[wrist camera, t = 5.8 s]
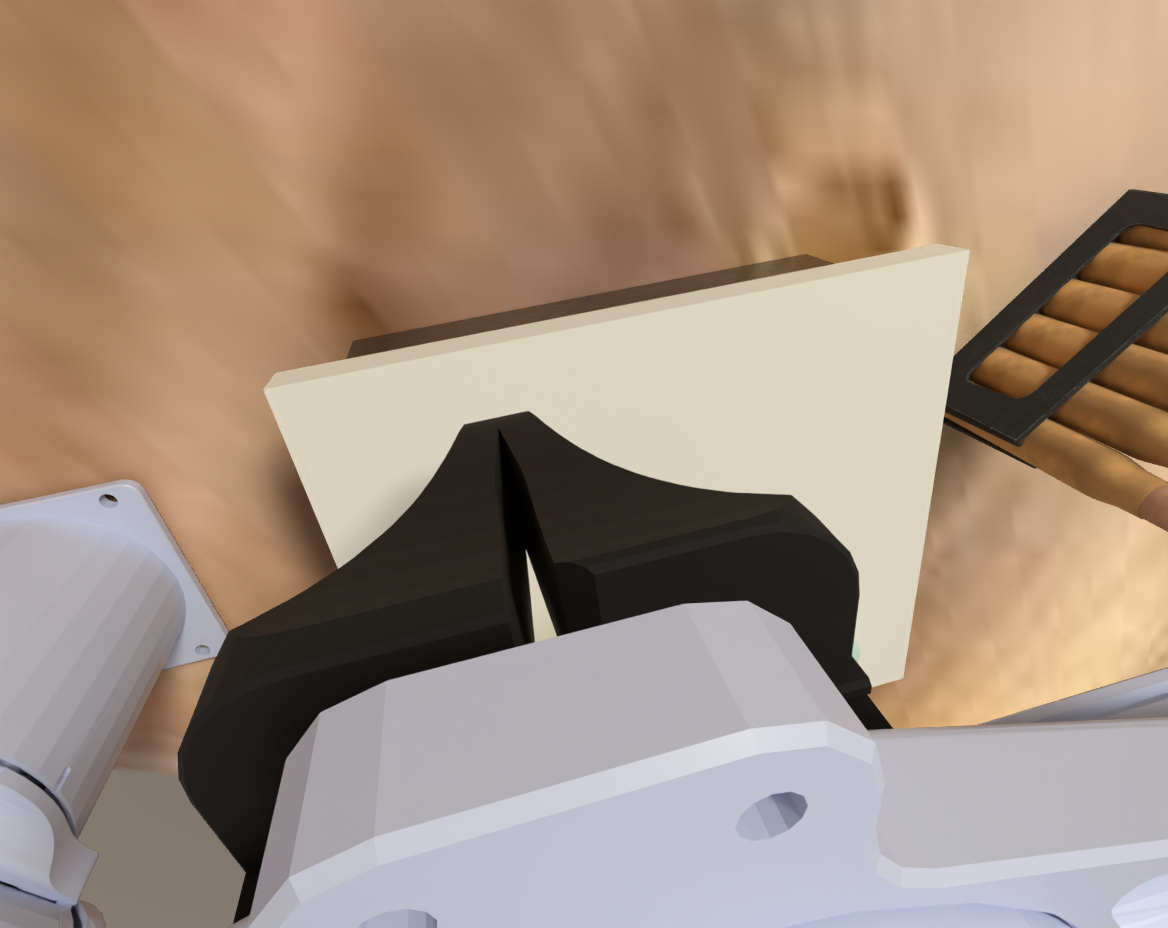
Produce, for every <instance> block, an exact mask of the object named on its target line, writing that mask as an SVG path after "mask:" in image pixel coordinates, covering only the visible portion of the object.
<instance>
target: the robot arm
mask: <svg viewBox="0 0 1168 928" xmlns="http://www.w3.org/2000/svg"><path fill="white" fill-rule="evenodd" d="M105 494H109V495H112V496H114V497H115V498H116V499H117V501H118V502H113V501H110V500H108V499H107V498H106V497H105ZM526 551H527V554H528V556H529V559H530V562H531V565H532V568H533V571H534V573H535V576H536V579H537V582H538V585H539V587H540V590H541V593H542V596H543V599H544V601H545V604H546V607H547V610H548V613H549V615H550V618H551V621H552V624H553V627H554V629H555V632H556V635H557V637H554V638H550V639H546V640H542V641H538V642H535V637H534V627H533V616H532V606H531V596H530V585H529V575H528V565H527V555H526ZM859 597H860V589H859V571H858V569H857V567H856V564H855V562H854V560H853V557H852V555H851V553H850V551H849V550H848V549H847V548H846V547H845V546H844V545H843V544H842V543H841V542H840V541H839V540H838V539H837V538H836V537H835V536H834V535H833V534H832V533H831V531H830V530H829V529H828V528H827V527H826V526H825V525H824V524H823V523H822V522H821V521H820V520H819V519H818V518H817V517H816V516H815V515H814V514H813V513H812V512H811V511H810V510H808V509H807V508H806V507H805V506H804V505H803V504H802V503H800V502H799V501H798V500H797V499H796V498H794V497H793V496H792V495H784V494H759V493H735V492H725V491H717V490H710V489H702V488H695V487H690V486H685V485H679V484H675V483H671V482H667V481H663V480H659V479H655V478H651V477H647V476H644V475H641V474H638V473H635V472H632V471H629V470H627V469H624V468H622V467H619V466H616V465H614V464H611V463H609V462H607V461H605V460H602V459H600V458H598V457H596V456H594V455H593V454H591V453H589V452H587V451H585V450H583V449H581V448H580V447H578V446H576V445H575V444H573V443H572V442H570V441H569V440H567V439H566V438H564V437H563V436H561V435H560V434H558V433H557V432H556V431H554V430H553V429H552V428H550V427H549V426H548V425H546V424H545V423H544V422H543V421H541V420H540V419H539V418H538V417H537V416H535V415H534V414H533V413H531V412H530V411H525V412H520V413H515V414H511V415H506V416H501V417H497V418H492V419H487V420H483V421H478V422H473V423H468V424H464V425H463V426H462V428H461V429H460V431H459V433H458V435H457V437H456V439H455V440H454V442H453V444H452V446H451V448H450V450H449V452H448V453H447V455H446V457H445V458H444V460H443V462H442V463H441V465H440V467H439V468H438V470H437V471H436V473H435V475H434V476H433V478H432V479H431V480H430V482H429V483H428V485H427V486H426V487H425V489H424V490H423V491H422V493H421V494H420V495H419V497H418V498H417V499H416V500H415V501H414V503H413V504H412V505H411V506H410V507H409V508H408V509H407V510H406V511H405V512H404V513H403V514H402V515H401V516H400V517H399V519H398V520H397V521H396V522H395V523H394V524H393V525H392V526H391V527H389V528H388V529H387V530H386V531H385V532H384V533H383V534H382V535H380V536H379V537H378V538H377V539H376V540H374V541H373V542H372V543H371V544H370V545H368V546H367V547H366V548H365V549H363V550H362V551H361V552H360V553H359V554H357V555H356V556H355V557H354V558H353V559H351V560H350V561H348V562H347V563H346V564H344V565H343V566H341V567H340V568H339V569H337V570H336V571H334V572H333V573H331V574H330V575H329V576H327V577H325V578H324V579H322V580H321V581H319V582H318V583H316V584H314V585H313V586H311V587H310V588H308V589H307V590H305V591H303V592H302V593H300V594H298V595H297V596H295V597H293V598H291V599H290V600H288V601H286V602H284V603H282V604H280V605H278V606H276V607H275V608H273V609H271V610H269V611H267V612H265V613H263V614H261V615H260V616H258V617H256V618H254V619H252V620H250V621H248V622H246V623H245V624H243V625H241V626H239V627H236V628H234V629H232V630H230V631H228V630H227V628H226V626H225V625H224V623H223V621H222V620H221V618H220V616H219V614H218V613H217V611H216V609H215V608H214V606H213V604H212V603H211V601H210V599H209V597H208V596H207V594H206V592H205V591H204V589H203V587H202V586H201V584H200V582H199V580H198V579H197V577H196V575H195V574H194V572H193V570H192V569H191V567H190V565H189V563H188V562H187V560H186V558H185V557H184V555H183V553H182V552H181V550H180V548H179V547H178V545H177V543H176V541H175V540H174V538H173V536H172V535H171V533H170V531H169V530H168V528H167V526H166V524H165V523H164V521H163V519H162V518H161V516H160V514H159V513H158V511H157V509H156V507H155V506H154V504H153V502H152V501H151V499H150V497H149V496H148V494H147V492H146V490H145V489H144V488H143V487H142V485H141V484H139V483H137V482H135V481H132V480H118V481H113V482H108V483H104V484H99V485H94V486H89V487H85V488H80V489H75V490H70V491H65V492H61V493H56V494H51V495H46V496H42V497H37V498H32V499H27V500H22V501H18V502H13V503H8V504H3V505H0V928H106V924H105V921H104V918H103V915H102V913H101V912H100V911H99V910H98V909H97V908H96V907H95V906H94V905H92V904H89V903H86V902H84V901H81V900H79V898H80V895H81V893H82V891H83V889H84V887H85V884H86V882H87V880H88V878H89V876H90V873H91V871H92V869H93V867H94V865H95V862H96V861H97V858H98V856H99V854H98V852H96V851H94V850H92V849H90V848H88V847H86V846H85V845H84V844H82V843H81V842H79V841H78V840H77V839H78V837H79V835H80V833H81V831H82V829H83V827H84V825H85V823H86V821H87V819H88V817H89V815H90V813H91V811H92V809H93V807H94V805H95V803H96V801H97V799H98V797H99V795H100V793H101V791H102V789H103V787H104V785H105V783H106V781H107V779H108V777H109V775H110V773H111V771H112V769H113V767H114V765H115V763H116V761H117V759H118V757H119V755H120V753H121V751H122V749H123V747H124V745H125V743H126V741H127V739H128V737H129V735H130V733H131V731H132V729H133V727H134V725H135V723H136V721H137V719H138V717H139V715H140V713H141V711H142V709H143V707H144V705H145V703H146V701H147V699H148V697H149V695H150V693H151V691H152V689H153V687H154V685H155V683H156V681H157V679H158V677H159V675H160V673H161V671H162V670H164V669H168V668H172V667H176V666H180V665H184V664H188V663H192V662H196V661H200V660H204V659H208V658H212V657H216V659H215V661H214V663H213V665H212V667H211V670H210V672H209V675H208V677H207V680H206V683H205V685H204V688H203V690H202V693H201V696H200V698H199V701H198V703H197V706H196V708H195V711H194V713H193V716H192V718H191V721H190V723H189V726H188V728H187V731H186V733H185V736H184V738H183V741H182V743H181V746H180V749H179V751H178V773H179V780H180V782H181V784H182V786H183V788H184V790H185V792H186V794H187V796H188V798H189V800H190V802H191V803H192V805H193V806H194V807H195V808H196V810H197V811H198V812H199V813H200V815H201V816H202V817H203V819H204V820H205V821H206V822H207V824H208V825H209V826H210V828H211V829H212V830H213V831H214V833H215V834H216V835H217V836H218V838H219V839H220V840H221V841H222V843H223V844H224V845H225V846H226V848H227V849H228V850H229V852H230V853H231V854H232V856H233V857H234V858H235V859H236V860H237V862H238V863H239V864H240V866H241V867H242V868H243V870H244V871H245V872H246V875H245V879H244V883H243V887H242V890H241V894H240V899H239V902H238V906H237V910H236V914H235V918H234V922H233V925H231V926H229V927H227V928H1168V667H1167V668H1163V669H1160V670H1157V671H1154V672H1150V673H1147V674H1144V675H1140V676H1137V677H1134V678H1130V679H1127V680H1124V681H1120V682H1117V683H1114V684H1110V685H1107V686H1104V687H1101V688H1097V689H1094V690H1091V691H1087V692H1084V693H1081V694H1077V695H1074V696H1071V697H1067V698H1064V699H1061V700H1057V701H1054V702H1051V703H1048V704H1044V705H1041V706H1038V707H1034V708H1031V709H1028V710H1024V711H1021V712H1018V713H1014V714H1011V715H1008V716H1005V717H1001V718H998V719H995V720H991V721H988V722H985V723H981V724H978V725H971V726H948V727H925V728H901V729H893V728H892V727H891V725H890V724H889V723H888V721H887V720H886V719H885V717H884V716H883V715H882V714H881V712H880V711H879V710H878V708H877V707H876V706H875V704H874V703H873V702H872V700H871V699H870V698H869V697H868V695H867V694H870V693H871V688H872V685H871V682H870V679H869V677H868V676H867V674H866V673H865V672H864V670H863V669H862V668H861V667H860V665H859V664H858V663H857V662H856V660H855V659H854V658H853V657H852V651H853V644H854V636H855V628H856V620H857V612H858V604H859ZM200 645H205V646H208V647H209V648H203V647H201V646H200Z"/></svg>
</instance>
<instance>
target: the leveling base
mask: <svg viewBox="0 0 1168 928" xmlns="http://www.w3.org/2000/svg"><path fill="white" fill-rule="evenodd" d="M832 264H834V263H831V262H828V261H825V260H822V259H819V258H816V257H813V256H810V255H807V254H805V255H799V256H794V257H789V258H784V259H779V260H773V261H768V262H763V263H758V264H753V265H747V266H742V267H737V268H732V269H726V270H721V271H716V272H711V273H706V274H700V275H695V276H690V277H685V278H680V279H674V280H669V281H664V282H659V283H653V284H648V285H643V286H638V287H633V288H627V289H622V290H617V291H612V292H607V293H601V294H596V295H591V296H586V297H581V298H575V299H570V300H565V301H560V302H554V303H549V304H544V305H539V306H534V307H528V308H523V309H518V310H513V311H508V312H502V313H497V314H492V315H487V316H481V317H476V318H471V319H466V320H461V321H455V322H450V323H445V324H440V325H435V326H429V327H424V328H419V329H414V330H408V331H403V332H398V333H393V334H388V335H382V336H377V337H372V338H367V339H362V340H356V341H353V343H352V346H351V349H350V351H349V354H348V357H347V359H350V358H355V357H360V356H365V355H370V354H376V353H381V352H386V351H391V350H396V349H401V348H406V347H411V346H417V345H422V344H427V343H432V342H437V341H442V340H447V339H452V338H458V337H463V336H468V335H473V334H478V333H483V332H488V331H494V330H499V329H504V328H509V327H514V326H519V325H524V324H529V323H535V322H540V321H545V320H550V319H555V318H560V317H565V316H570V315H576V314H581V313H586V312H591V311H596V310H601V309H606V308H611V307H617V306H622V305H627V304H632V303H637V302H642V301H647V300H652V299H658V298H663V297H668V296H673V295H678V294H683V293H688V292H693V291H699V290H704V289H709V288H714V287H719V286H724V285H729V284H734V283H740V282H745V281H750V280H755V279H760V278H765V277H770V276H775V275H781V274H786V273H791V272H796V271H801V270H806V269H811V268H816V267H822V266H827V265H832Z"/></svg>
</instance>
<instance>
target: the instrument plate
mask: <svg viewBox="0 0 1168 928" xmlns="http://www.w3.org/2000/svg"><path fill="white" fill-rule="evenodd" d="M969 253H970V250H968V249H963V248H957V247H952V246H946V245H941V244H934V245H929V246H924V247H919V248H914V249H909V250H904V251H898V252H893V253H888V254H883V255H878V256H873V257H868V258H863V259H857V260H852V261H847V262H842V263H837V264H832V265H827V266H822V267H816V268H811V269H806V270H801V271H796V272H791V273H786V274H781V275H775V276H770V277H765V278H760V279H755V280H750V281H745V282H740V283H734V284H729V285H724V286H719V287H714V288H709V289H704V290H699V291H693V292H688V293H683V294H678V295H673V296H668V297H663V298H658V299H652V300H647V301H642V302H637V303H632V304H627V305H622V306H617V307H611V308H606V309H601V310H596V311H591V312H586V313H581V314H576V315H570V316H565V317H560V318H555V319H550V320H545V321H540V322H535V323H529V324H524V325H519V326H514V327H509V328H504V329H499V330H494V331H488V332H483V333H478V334H473V335H468V336H463V337H458V338H452V339H447V340H442V341H437V342H432V343H427V344H422V345H417V346H411V347H406V348H401V349H396V350H391V351H386V352H381V353H376V354H370V355H365V356H360V357H355V358H350V359H345V360H340V361H335V362H329V363H324V364H319V365H314V366H309V367H304V368H299V369H294V370H288V371H283V372H278V373H275V374H274V376H273V377H272V379H271V380H270V381H269V383H268V384H267V385H266V387H265V388H264V389H263V390H264V392H265V395H266V397H267V400H268V402H269V404H270V407H271V409H272V412H273V414H274V416H275V419H276V421H277V424H278V426H279V428H280V431H281V433H282V436H283V438H284V440H285V443H286V445H287V448H288V450H289V452H290V455H291V457H292V460H293V462H294V464H295V467H296V469H297V472H298V474H299V476H300V479H301V481H302V484H303V486H304V488H305V491H306V493H307V496H308V498H309V500H310V503H311V505H312V508H313V510H314V512H315V515H316V517H317V520H318V522H319V524H320V527H321V529H322V532H323V534H324V536H325V539H326V541H327V544H328V546H329V548H330V551H331V553H332V556H333V558H334V560H335V563H336V565H337V568H338V569H339V568H340V567H341V566H343V565H344V564H346V563H347V562H348V561H350V560H351V559H353V558H354V557H355V556H356V555H357V554H359V553H360V552H361V551H362V550H363V549H365V548H366V547H367V546H368V545H370V544H371V543H372V542H373V541H374V540H376V539H377V538H378V537H379V536H380V535H382V534H383V533H384V532H385V531H386V530H387V529H388V528H389V527H391V526H392V525H393V524H394V523H395V522H396V521H397V520H398V519H399V517H400V516H401V515H402V514H403V513H404V512H405V511H406V510H407V509H408V508H409V507H410V506H411V505H412V504H413V503H414V501H415V500H416V499H417V498H418V497H419V495H420V494H421V493H422V491H423V490H424V489H425V487H426V486H427V485H428V483H429V482H430V480H431V479H432V478H433V476H434V475H435V473H436V471H437V470H438V468H439V467H440V465H441V463H442V462H443V460H444V458H445V457H446V455H447V453H448V452H449V450H450V448H451V446H452V444H453V442H454V440H455V439H456V437H457V435H458V433H459V431H460V429H461V428H462V426H463V425H464V424H468V423H473V422H478V421H483V420H487V419H492V418H497V417H501V416H506V415H511V414H515V413H520V412H525V411H530V412H531V413H533V414H534V415H535V416H537V417H538V418H539V419H540V420H541V421H543V422H544V423H545V424H546V425H548V426H549V427H550V428H552V429H553V430H554V431H556V432H557V433H558V434H560V435H561V436H563V437H564V438H566V439H567V440H569V441H570V442H572V443H573V444H575V445H576V446H578V447H580V448H581V449H583V450H585V451H587V452H589V453H591V454H593V455H594V456H596V457H598V458H600V459H602V460H605V461H607V462H609V463H611V464H614V465H616V466H619V467H622V468H624V469H627V470H629V471H632V472H635V473H638V474H641V475H644V476H647V477H651V478H655V479H659V480H663V481H667V482H671V483H675V484H679V485H685V486H690V487H695V488H702V489H710V490H717V491H725V492H735V493H759V494H784V495H792V496H793V497H794V498H796V499H797V500H798V501H799V502H800V503H802V504H803V505H804V506H805V507H806V508H807V509H808V510H810V511H811V512H812V513H813V514H814V515H815V516H816V517H817V518H818V519H819V520H820V521H821V522H822V523H823V524H824V525H825V526H826V527H827V528H828V529H829V530H830V531H831V533H832V534H833V535H834V536H835V537H836V538H837V539H838V540H839V541H840V542H841V543H842V544H843V545H844V546H845V547H846V548H847V549H848V550H849V551H850V553H851V555H852V557H853V560H854V562H855V564H856V567H857V569H858V571H859V589H860V597H859V604H858V612H857V620H856V628H855V636H854V644H853V651H852V657H853V658H854V659H855V660H856V662H857V663H858V664H859V665H860V667H861V668H862V669H863V670H864V672H865V673H866V674H867V676H868V677H869V679H870V682H871V685H872V687H874V686H878V685H881V684H885V683H888V682H892V681H895V680H899V679H902V678H903V675H904V669H905V663H906V656H907V650H908V643H909V637H910V631H911V624H912V618H913V611H914V605H915V599H916V592H917V586H918V579H919V573H920V567H921V560H922V554H923V547H924V541H925V535H926V528H927V522H928V515H929V509H930V503H931V496H932V490H933V483H934V477H935V471H936V464H937V458H938V451H939V445H940V439H941V432H942V426H943V419H944V413H945V407H946V400H947V394H948V387H949V381H950V375H951V368H952V362H953V355H954V349H955V343H956V336H957V330H958V323H959V317H960V311H961V304H962V298H963V292H964V285H965V279H966V272H967V266H968V260H969ZM526 555H527V565H528V575H529V585H530V596H531V606H532V616H533V627H534V637H535V642H538V641H542V640H546V639H550V638H554V637H557V635H556V632H555V629H554V627H553V624H552V621H551V618H550V615H549V613H548V610H547V607H546V604H545V601H544V599H543V596H542V593H541V590H540V587H539V585H538V582H537V579H536V576H535V573H534V571H533V568H532V565H531V562H530V559H529V556H528V554H527V551H526Z"/></svg>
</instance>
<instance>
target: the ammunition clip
mask: <svg viewBox="0 0 1168 928" xmlns="http://www.w3.org/2000/svg"><path fill="white" fill-rule="evenodd" d="M943 423H944V424H946V425H948V426H950V427H952V428H954V429H956V430H958V431H960V432H962V433H964V434H966V435H968V436H970V437H972V438H974V439H976V440H978V441H980V442H982V443H984V444H986V445H988V446H990V447H992V448H994V449H996V450H998V451H1000V452H1002V453H1004V454H1006V455H1008V456H1010V457H1012V458H1014V459H1016V460H1018V461H1020V462H1022V463H1024V464H1026V465H1028V466H1030V467H1032V468H1038V469H1040V470H1042V471H1044V472H1045V473H1047V474H1049V475H1051V476H1053V477H1054V478H1056V479H1058V480H1060V481H1062V482H1063V483H1065V484H1067V485H1069V486H1071V487H1072V488H1074V489H1076V490H1078V491H1080V492H1081V493H1083V494H1085V495H1087V496H1089V497H1091V498H1093V499H1096V500H1099V501H1102V502H1105V503H1107V504H1110V505H1113V506H1116V507H1119V508H1121V509H1123V510H1125V511H1127V512H1129V513H1131V514H1133V515H1135V516H1137V517H1139V518H1141V519H1145V520H1147V521H1149V522H1150V523H1152V524H1154V525H1156V526H1158V527H1160V528H1162V529H1164V530H1166V531H1167V532H1168V482H1166V481H1165V480H1163V479H1161V478H1159V477H1157V476H1155V475H1153V474H1152V473H1150V472H1148V471H1146V470H1145V469H1144V468H1142V467H1141V466H1140V465H1138V464H1137V463H1136V462H1134V461H1133V460H1132V459H1130V458H1129V457H1127V456H1126V455H1129V456H1131V457H1133V458H1136V459H1138V460H1141V461H1144V462H1148V463H1152V464H1156V465H1159V466H1163V467H1167V468H1168V194H1164V193H1156V192H1149V191H1142V190H1134V189H1132V190H1128V191H1127V192H1126V193H1125V194H1124V195H1123V196H1122V197H1121V198H1120V199H1119V200H1118V201H1117V202H1116V203H1115V204H1114V205H1113V206H1111V207H1110V208H1109V209H1108V210H1107V211H1106V212H1105V213H1104V214H1103V215H1102V216H1101V217H1100V218H1099V219H1098V220H1097V221H1096V222H1095V223H1094V224H1093V225H1091V226H1090V227H1089V228H1088V229H1087V230H1086V231H1085V232H1084V233H1083V234H1082V235H1081V236H1080V237H1079V238H1078V239H1077V240H1076V241H1075V242H1074V243H1072V244H1071V245H1070V246H1069V247H1068V248H1067V249H1066V250H1065V251H1064V252H1063V253H1062V254H1061V255H1060V256H1059V257H1058V258H1057V259H1056V260H1055V261H1054V262H1052V263H1051V264H1050V265H1049V266H1048V267H1047V268H1046V269H1045V270H1044V271H1043V272H1042V273H1041V274H1040V275H1039V276H1038V277H1037V278H1036V279H1035V280H1034V281H1032V282H1031V283H1030V284H1029V285H1028V286H1027V287H1026V288H1025V289H1024V290H1023V291H1022V292H1021V293H1020V294H1019V295H1018V296H1017V297H1016V298H1015V299H1013V300H1012V301H1011V302H1010V303H1009V304H1008V305H1007V306H1006V307H1005V308H1004V309H1003V310H1002V311H1001V312H1000V313H999V314H998V315H997V316H996V317H995V318H993V319H992V320H991V321H990V322H989V323H988V324H987V325H986V326H985V327H984V328H983V329H982V330H981V331H980V332H979V333H978V334H977V335H976V336H975V337H973V338H972V339H971V340H970V341H969V342H968V343H967V344H966V345H965V346H964V347H963V348H962V349H961V350H960V351H959V352H958V353H957V354H956V355H954V356H953V362H952V368H951V375H950V381H949V387H948V394H947V400H946V407H945V413H944V419H943ZM1078 432H1079V433H1078ZM1085 435H1086V436H1085ZM1087 436H1088V437H1087ZM1089 437H1090V438H1089ZM1091 438H1092V439H1091ZM1093 439H1094V440H1093ZM1095 440H1096V441H1095ZM1097 441H1098V442H1097ZM1099 442H1101V443H1103V444H1105V445H1103V444H1101V443H1099ZM1106 445H1107V446H1106ZM1108 446H1109V447H1108ZM1110 447H1111V448H1110ZM1112 448H1114V449H1116V450H1118V451H1120V452H1122V453H1124V454H1126V455H1124V454H1122V453H1120V452H1118V451H1116V450H1114V449H1112Z"/></svg>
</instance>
